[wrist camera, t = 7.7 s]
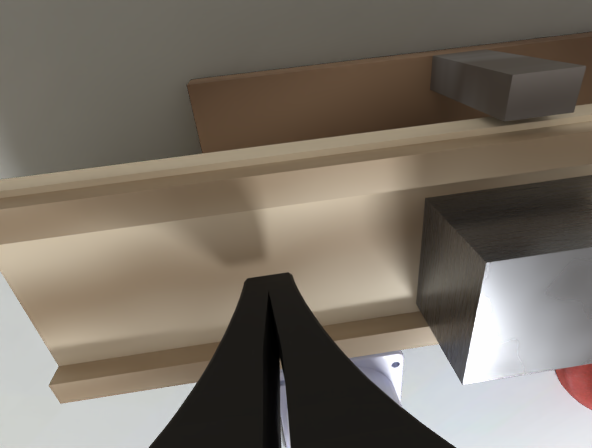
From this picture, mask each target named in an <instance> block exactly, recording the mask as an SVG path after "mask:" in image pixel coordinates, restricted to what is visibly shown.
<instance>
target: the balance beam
mask: <svg viewBox="0 0 592 448" xmlns="http://www.w3.org/2000/svg"><path fill="white" fill-rule="evenodd" d="M587 175H592V104H585V105H578V106H575V110H574V113H566V114H558V115H551V116H543V117H535V118H528V119H520V120H512V121H505V122H504V121H502V120H499V119H497V118H495V117H493V116H492V117H484V118H476V119H468V120H461V121H453V122H445V123H437V124H429V125H422V126H414V127H406V128H398V129H390V130H383V131H375V132H367V133H359V134H351V135H344V136H336V137H328V138H320V139H312V140H305V141H297V142H289V143H281V144H273V145H266V146H258V147H250V148H242V149H234V150H227V151H219V152H211V153H203V154H195V155H188V156H180V157H172V158H164V159H156V160H149V161H141V162H133V163H125V164H117V165H110V166H102V167H94V168H86V169H78V170H71V171H63V172H55V173H47V174H39V175H32V176H24V177H16V178H8V179H0V271H1V273H2V274H3V276H4V278H5V279H6V281H7V282H8V284H9V286H10V287H11V289H12V291H13V292H14V294H15V296H16V297H17V299H18V300H19V302H20V304H21V305H22V307H23V309H24V310H25V312H26V313H27V315H28V317H29V318H30V320H31V322H32V323H33V325H34V327H35V328H36V330H37V331H38V333H39V335H40V336H41V338H42V340H43V341H44V343H45V345H46V346H47V348H48V349H49V351H50V353H51V354H52V356H53V358H54V359H55V361H56V362H57V364H58V366H59V367H58V369H57V371H56V373H55V375H54V376H53V378H52V380H51V382H50V384H49V387H50V388H51V390H52V391H53V393H54V394H55V396H56V397H57V399H58V400H59V402H60V403H68V402H74V401H80V400H87V399H93V398H100V397H106V396H112V395H119V394H125V393H131V392H138V391H144V390H150V389H157V388H163V387H169V386H176V385H182V384H188V383H195V382H198V380H199V379H200V377H201V376H202V374H203V372H204V371H205V369H206V367H207V366H208V364H209V362H210V360H211V359H212V357H213V355H214V353H215V351H216V349H217V347H218V345H219V343H220V341H221V340H222V338H223V336H224V334H225V332H226V329H227V327H228V325H229V323H230V320H231V318H232V316H233V313H234V311H235V309H236V306H237V303H238V301H239V298H240V295H241V292H242V289H243V285H244V282H245V280H246V279H247V278H253V277H259V276H266V275H273V274H280V273H286V272H289V273H290V274H292V275H293V278H294V281H295V283H296V285H297V288H298V290H299V291H300V293H301V295H302V297H303V299H304V300H305V302H306V304H307V305H308V307H309V308H310V310H311V311H312V313H313V314H314V316H315V317H316V318H317V320H318V321H319V323H320V324H321V325H322V327H323V328H324V330H325V331H326V332H327V333H328V335H329V336H330V337H331V338H332V340H333V341H334V342H335V343H336V344H337V346H338V347H339V348H340V349H341V350H342V351H343V352H344V354H345V355H346V356H347V357H348V358H353V357H360V356H366V355H372V354H379V353H385V352H391V351H398V350H404V349H410V348H417V347H423V346H429V345H436V344H439V343H438V341H437V340H436V338H435V336H434V334H433V333H432V331H431V329H430V327H429V326H428V324H427V322H426V320H425V319H424V317H423V315H422V313H421V312H420V310H419V308H418V306H417V305H416V299H417V287H418V275H419V264H420V252H421V240H422V229H423V217H424V206H425V198H428V197H435V196H443V195H450V194H457V193H464V192H472V191H479V190H486V189H493V188H500V187H508V186H515V185H522V184H529V183H537V182H544V181H551V180H558V179H566V178H573V177H580V176H587ZM280 369H282V365H281V360H280Z"/></svg>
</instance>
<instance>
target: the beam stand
mask: <svg viewBox="0 0 592 448" xmlns="http://www.w3.org/2000/svg"><path fill="white" fill-rule="evenodd" d="M187 88H188V93H189V97H190V101H191V106H192V110H193V115H194V119H195V123H196V128H197V132H198V136H199V141H200V145H201V149H202V154H203V153H211V152H219V151H227V150H234V149H242V148H250V147H258V146H266V145H273V144H281V143H289V142H297V141H305V140H312V139H320V138H328V137H336V136H344V135H351V134H359V133H367V132H375V131H383V130H390V129H398V128H406V127H414V126H422V125H429V124H437V123H445V122H453V121H461V120H468V119H476V118H484V117H492V116H493V117H495V118H497V119H499V120H502V121H504V122H505V121H512V120H520V119H528V118H535V117H543V116H551V115H558V114H566V113H574V110H575V106H578V105H585V104H592V32H587V33H578V34H570V35H562V36H553V37H545V38H536V39H528V40H520V41H511V42H503V43H494V44H486V45H478V46H469V47H461V48H452V49H444V50H436V51H427V52H419V53H410V54H402V55H394V56H385V57H377V58H368V59H360V60H352V61H343V62H335V63H327V64H318V65H310V66H301V67H293V68H285V69H276V70H268V71H259V72H251V73H243V74H234V75H226V76H217V77H209V78H201V79H192V80H190V82H189V83H188V84H187Z"/></svg>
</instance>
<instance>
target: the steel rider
mask: <svg viewBox="0 0 592 448" xmlns="http://www.w3.org/2000/svg"><path fill="white" fill-rule="evenodd" d="M416 305H417V306H418V308H419V310H420V312H421V313H422V315H423V317H424V319H425V320H426V322H427V324H428V326H429V327H430V329H431V331H432V333H433V334H434V336H435V338H436V340H437V341H438V343H439V345H440V346H441V348H442V350H443V352H444V353H445V355H446V357H447V359H448V360H449V362H450V364H451V366H452V367H453V369H454V371H455V373H456V374H457V376H458V378H459V380H460V381H461V383H462V385H465V384H471V383H477V382H483V381H489V380H495V379H501V378H507V377H513V376H519V375H526V374H532V373H538V372H544V371H550V370H556V369H562V368H568V367H574V366H580V365H587V364H592V175H587V176H580V177H573V178H566V179H558V180H551V181H544V182H537V183H529V184H522V185H515V186H508V187H500V188H493V189H486V190H479V191H472V192H464V193H457V194H450V195H443V196H435V197H428V198H425V206H424V217H423V229H422V240H421V252H420V264H419V275H418V287H417V299H416Z"/></svg>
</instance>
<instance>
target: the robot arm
mask: <svg viewBox="0 0 592 448" xmlns="http://www.w3.org/2000/svg"><path fill="white" fill-rule="evenodd" d="M280 360H281V365H282V369H280ZM403 361H404V356H403V353H402V351H401V350H398V351H391V352H385V353H379V354H372V355H366V356H360V357H353V358H348V357H347V356H346V355H345V354H344V352H343V351H342V350H341V349H340V348H339V347H338V346H337V344H336V343H335V342H334V341H333V340H332V338H331V337H330V336H329V335H328V333H327V332H326V331H325V330H324V328H323V327H322V325H321V324H320V323H319V321H318V320H317V318H316V317H315V316H314V314H313V313H312V311H311V310H310V308H309V307H308V305H307V304H306V302H305V300H304V299H303V297H302V295H301V293H300V291H299V290H298V288H297V285H296V283H295V281H294V278H293V275H292V274H290V273H289V272H286V273H280V274H273V275H266V276H259V277H253V278H247V279H246V280H245V282H244V285H243V289H242V292H241V295H240V298H239V301H238V303H237V306H236V309H235V311H234V313H233V316H232V318H231V320H230V323H229V325H228V327H227V329H226V332H225V334H224V336H223V338H222V340H221V341H220V343H219V345H218V347H217V349H216V351H215V353H214V355H213V357H212V359H211V360H210V362H209V364H208V366H207V367H206V369H205V371H204V372H203V374H202V376H201V377H200V379H199V380H198V382H197V383H196V385H195V387H194V388H193V390H192V391H191V393H190V394H189V395H188V397H187V398H186V400H185V401H184V403H183V404H182V405H181V407H180V408H179V410H178V411H177V413H176V414H175V415H174V417H173V418H172V419H171V421H170V422H169V423H168V425H167V426H166V427H165V428H164V430H163V431H162V432H161V433H160V434H159V436H158V437H157V438H156V439H155V441H154V442H153V443H152V444H151V445H150V447H149V448H281V426H280V416H281V421H282V426H283V431H284V437H285V442H286V447H287V448H456V447H454V446H453V445H452V444H450V443H449V442H447V441H446V440H444V439H443V438H442V437H440V436H439V435H437V434H436V433H435V432H433V431H432V430H430V429H429V428H428V427H426V426H425V425H424V424H422V423H421V422H420V421H418V420H417V419H416V418H415V417H413V416H412V415H411V414H410V413H408V412H407V411H406V410H404V409H403V408H402V405H401V389H402V375H403ZM282 380H283V381H282Z"/></svg>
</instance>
